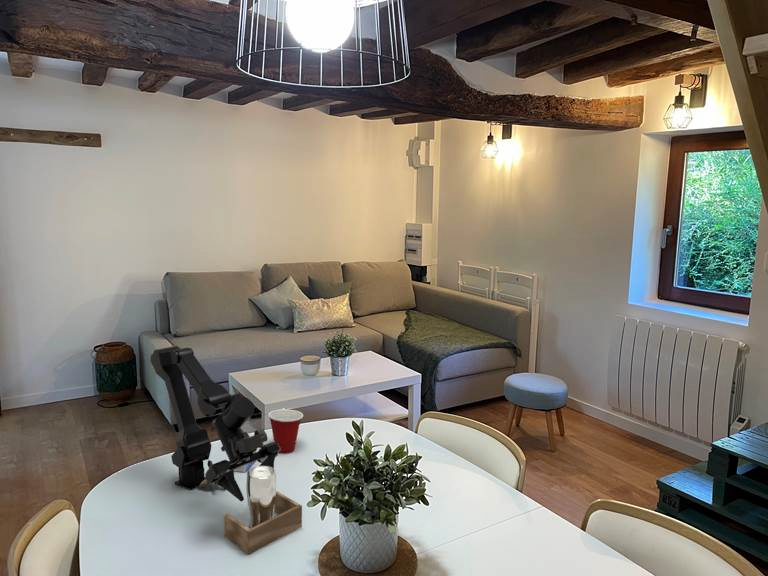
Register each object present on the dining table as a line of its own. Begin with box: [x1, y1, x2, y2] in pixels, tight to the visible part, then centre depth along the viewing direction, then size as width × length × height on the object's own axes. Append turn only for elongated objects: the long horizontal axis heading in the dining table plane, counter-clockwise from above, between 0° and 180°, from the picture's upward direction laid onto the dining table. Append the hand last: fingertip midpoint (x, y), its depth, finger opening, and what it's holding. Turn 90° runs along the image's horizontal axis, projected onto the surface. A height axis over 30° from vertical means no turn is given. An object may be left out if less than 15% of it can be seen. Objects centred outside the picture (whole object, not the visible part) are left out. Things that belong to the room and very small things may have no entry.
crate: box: [223, 490, 303, 555], centre depth 139 cm, size 10×15×6 cm, turn 138°
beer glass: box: [245, 465, 277, 529], centre depth 139 cm, size 7×7×15 cm
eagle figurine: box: [196, 459, 236, 491], centre depth 159 cm, size 8×7×9 cm
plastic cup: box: [267, 408, 304, 454], centre depth 182 cm, size 11×11×12 cm
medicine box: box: [234, 432, 257, 473], centre depth 171 cm, size 8×4×9 cm, turn 168°
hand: (258, 493), depth 139 cm, fingers open, 9 cm apart
